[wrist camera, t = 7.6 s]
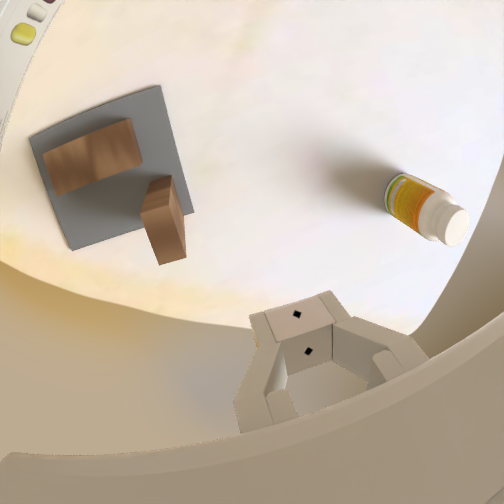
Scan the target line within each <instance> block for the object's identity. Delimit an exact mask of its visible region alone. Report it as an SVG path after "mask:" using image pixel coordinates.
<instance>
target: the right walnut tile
mask: <svg viewBox="0 0 504 504" xmlns="http://www.w3.org/2000/svg"><path fill="white" fill-rule="evenodd" d="M140 216H141V219H142V221H143V224H144V227H145V230H146V232H147V235H148V238H149V240H150V243H151V246H152V248H153V251H154V253H155V256H156V258H157V261H158V263H159V265H162V264H166V263H169V262H173V261H176V260H180V259H183V258H186V244H185V229H184V215H183V211H182V208H181V205H180V202H179V198H178V195H177V191H176V188H175V185H174V181H173V178H172V175H170V176H167V177H164V178H161V179H157V180H154V181H151V182H150V184H149V187H148V190H147V193H146V196H145V199H144V202H143V205H142V208H141V211H140Z"/></svg>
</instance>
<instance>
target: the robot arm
mask: <svg viewBox="0 0 504 504" xmlns="http://www.w3.org/2000/svg"><path fill="white" fill-rule="evenodd" d="M249 319H250V323H251V327H252V331H253V335H254V338H255V342H256V346H257V349H256V350H255V353H254V355H253V357H252V359H251V362H250V364H249V366H248V369H247V371H246V373H245V375H244V378H243V380H242V382H241V385H240V387H239V389H238V391H237V394H236V396H235V398H234V400H233V404H234V408H235V413H236V417H237V421H238V425H239V429H240V433H241V434H239V435H235V436H231V437H226V438H222V439H217V440H213V441H207V442H202V443H197V444H191V445H186V446H180V447H173V448H166V449H160V450H151V451H144V452H133V453H121V454H106V455H41V454H28V453H17V452H14V453H9V454H8V455H7V456H6V457H5V458H3V460H2V461H1V462H0V504H504V312H503V313H501V314H500V315H499V316H497V317H496V318H495V319H493V320H492V321H490V322H489V323H487V324H486V325H485V326H483V327H482V328H480V329H479V330H477V331H476V332H474V333H473V334H471V335H470V336H468V337H466V338H465V339H463V340H462V341H460V342H459V343H457V344H455V345H454V346H452V347H450V348H449V349H447V350H445V351H444V352H442V353H440V354H438V355H437V356H435V357H433V358H432V359H429V358H428V357H427V356H426V354H425V353H424V352H423V351H422V349H421V348H420V347H419V346H418V345H417V343H416V342H415V341H414V340H413V339H412V337H410V336H407V335H405V334H402V333H399V332H396V331H393V330H391V329H388V328H385V327H383V326H380V325H377V324H374V323H372V322H369V321H366V320H364V319H361V318H358V317H355V316H354V317H350V315H349V314H348V313H347V311H346V310H345V309H344V307H343V306H342V305H341V303H340V302H339V301H338V299H337V298H336V297H335V295H334V294H333V293H332V292H331V291H326V292H323V293H320V294H317V295H315V296H312V297H309V298H306V299H303V300H300V301H297V302H293V303H290V304H287V305H283V306H280V307H276V308H272V309H269V310H265V311H262V312H259V313H255V314H251V315H249ZM331 360H332V361H333V362H335V363H336V364H338V365H340V366H341V367H343V368H345V369H346V370H348V371H350V372H352V373H353V374H355V375H357V376H359V377H360V378H362V379H364V380H365V381H367V382H368V386H367V390H366V391H365V392H363V393H361V394H359V395H356V396H354V397H351V398H349V399H347V400H344V401H341V402H339V403H337V404H334V405H331V406H329V407H326V408H323V409H321V410H318V411H315V412H312V413H309V414H307V415H303V416H301V417H299V416H298V413H297V411H296V409H295V406H294V404H293V401H292V399H291V397H290V394H289V392H288V390H284V389H285V385H286V381H287V376H288V375H291V374H294V373H297V372H299V371H302V370H305V369H307V368H310V367H313V366H317V365H319V364H323V363H325V362H329V361H331Z"/></svg>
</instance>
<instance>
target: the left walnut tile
mask: <svg viewBox="0 0 504 504" xmlns="http://www.w3.org/2000/svg"><path fill="white" fill-rule="evenodd" d="M43 157H44V160H45V163H46V166H47V169H48V172H49V175H50V178H51V181H52V184H53V186H54V189H55V192H56V194H57V197H58V196H60V195H63V194H65V193H68V192H70V191H73V190H75V189H78V188H80V187H83V186H85V185H88V184H90V183H93V182H96V181H98V180H101V179H104V178H106V177H109V176H112V175H115V174H117V173H120V172H123V171H126V170H129V169H132V168H135V167H138V166H140V165H141V164H142V162H143V159H142V156H141V152H140V149H139V146H138V142H137V138H136V135H135V131H134V128H133V124H132V120H131V118H130V119H127V120H124V121H121V122H118V123H116V124H113V125H110V126H107V127H105V128H102V129H100V130H97V131H95V132H92V133H90V134H87V135H85V136H82V137H80V138H78V139H75V140H73V141H71V142H68V143H66V144H64V145H62V146H59V147H57V148H55V149H53V150H51V151H49V152H47V153H45V154H43Z"/></svg>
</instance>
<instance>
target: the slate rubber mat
mask: <svg viewBox="0 0 504 504" xmlns="http://www.w3.org/2000/svg"><path fill="white" fill-rule="evenodd" d="M130 118H131V120H132V124H133V128H134V131H135V135H136V138H137V142H138V146H139V149H140V152H141V156H142V159H143V162H142V164H141V165H140V166H138V167H135V168H132V169H129V170H126V171H123V172H120V173H117V174H115V175H112V176H109V177H106V178H104V179H101V180H98V181H96V182H93V183H90V184H88V185H85V186H83V187H80V188H78V189H75V190H73V191H70V192H68V193H65V194H63V195H60V196H58V197H57V194H56V192H55V189H54V186H53V184H52V181H51V178H50V175H49V172H48V169H47V166H46V163H45V160H44V157H43V154H45V153H47V152H49V151H51V150H53V149H55V148H57V147H59V146H62V145H64V144H66V143H68V142H71V141H73V140H75V139H78V138H80V137H82V136H85V135H87V134H90V133H92V132H95V131H97V130H100V129H102V128H105V127H107V126H110V125H113V124H116V123H118V122H121V121H124V120H127V119H130ZM29 139H30V143H31V146H32V149H33V152H34V156H35V159H36V162H37V165H38V168H39V171H40V174H41V177H42V179H43V182H44V185H45V188H46V190H47V193H48V196H49V198H50V201H51V203H52V206H53V208H54V211H55V213H56V216H57V218H58V221H59V223H60V225H61V228H62V230H63V232H64V234H65V237H66V239H67V241H68V243H69V245H70V248H71V250H72V251H74V250H77V249H80V248H83V247H86V246H89V245H92V244H95V243H98V242H101V241H104V240H107V239H110V238H113V237H116V236H119V235H122V234H125V233H128V232H131V231H135V230H138V229H141V228H144V224H143V221H142V219H141V216H140V211H141V208H142V205H143V202H144V199H145V196H146V193H147V190H148V187H149V184H150V182H151V181H154V180H157V179H161V178H164V177H167V176H170V175H172V178H173V181H174V185H175V188H176V191H177V195H178V198H179V202H180V205H181V208H182V211H183V215H187V214H191V213H194V210H193V206H192V203H191V199H190V196H189V192H188V189H187V185H186V181H185V178H184V174H183V171H182V167H181V163H180V160H179V156H178V152H177V148H176V145H175V141H174V137H173V133H172V129H171V125H170V121H169V117H168V114H167V110H166V105H165V101H164V97H163V93H162V89H161V86H157V87H154V88H150V89H147V90H144V91H141V92H138V93H135V94H132V95H129V96H126V97H123V98H120V99H117V100H115V101H112V102H109V103H107V104H104V105H101V106H99V107H96V108H94V109H91V110H89V111H87V112H84V113H82V114H79V115H77V116H75V117H73V118H70V119H68V120H66V121H64V122H62V123H59V124H57V125H55V126H53V127H51V128H49V129H47V130H45V131H43V132H41V133H39V134H37V135H35V136H33V137H31V138H29Z"/></svg>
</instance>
